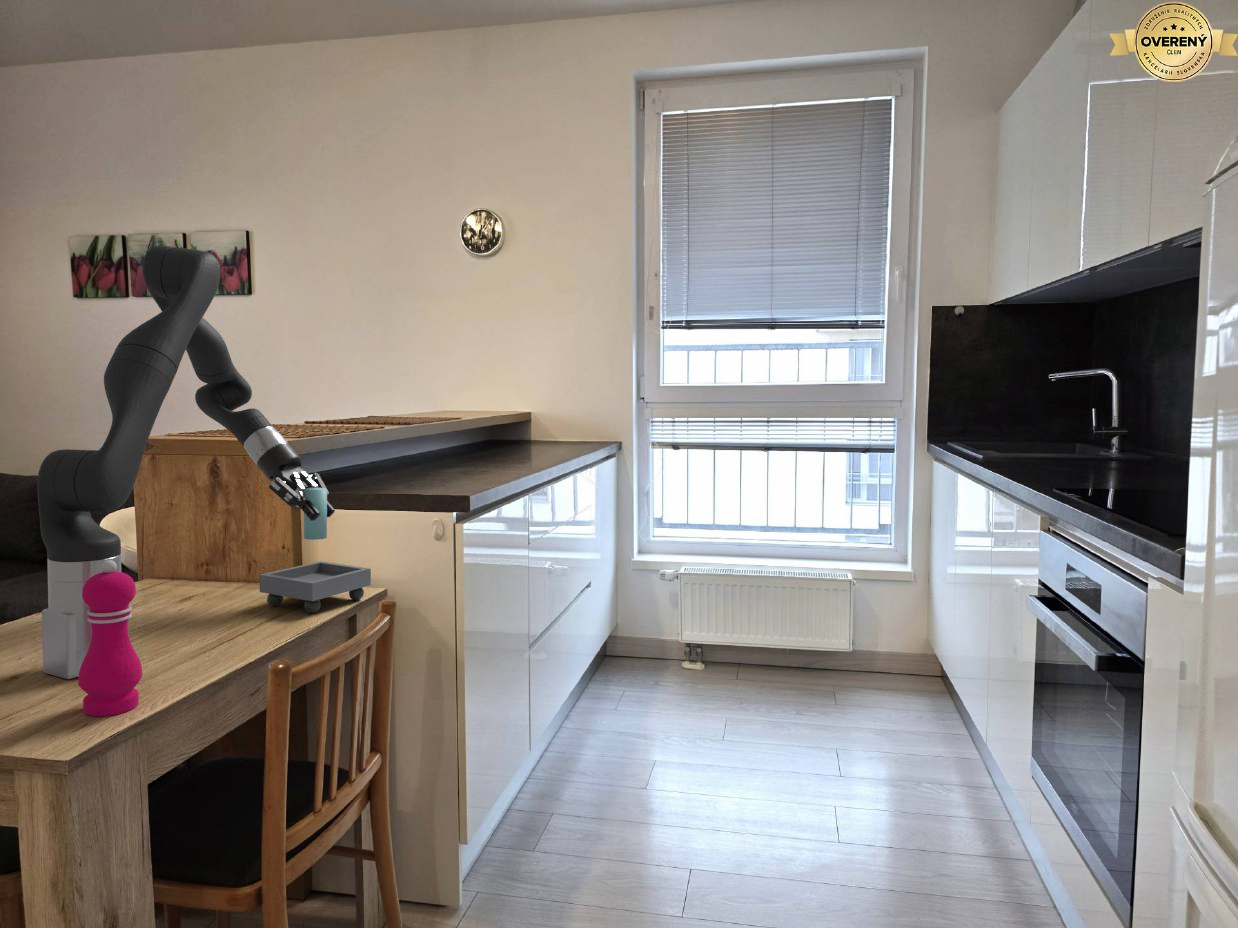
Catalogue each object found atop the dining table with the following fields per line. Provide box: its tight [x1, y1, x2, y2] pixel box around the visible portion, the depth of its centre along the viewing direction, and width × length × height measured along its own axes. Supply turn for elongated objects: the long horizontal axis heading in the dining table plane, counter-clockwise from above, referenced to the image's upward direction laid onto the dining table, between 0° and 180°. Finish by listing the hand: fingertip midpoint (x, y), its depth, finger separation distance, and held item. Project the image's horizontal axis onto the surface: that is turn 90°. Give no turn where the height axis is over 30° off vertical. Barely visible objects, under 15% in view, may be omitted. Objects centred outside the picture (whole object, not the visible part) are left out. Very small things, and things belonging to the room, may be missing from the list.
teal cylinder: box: [303, 487, 328, 541], centre depth 161 cm, size 4×4×10 cm
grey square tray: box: [259, 560, 372, 614], centre depth 163 cm, size 16×14×6 cm
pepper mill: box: [77, 560, 143, 717], centre depth 106 cm, size 7×7×20 cm
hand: (323, 515), depth 161 cm, fingers closed on teal cylinder, 4 cm apart
